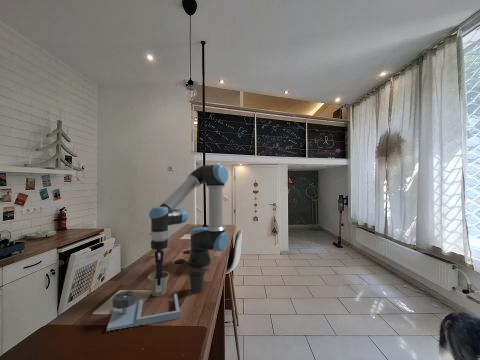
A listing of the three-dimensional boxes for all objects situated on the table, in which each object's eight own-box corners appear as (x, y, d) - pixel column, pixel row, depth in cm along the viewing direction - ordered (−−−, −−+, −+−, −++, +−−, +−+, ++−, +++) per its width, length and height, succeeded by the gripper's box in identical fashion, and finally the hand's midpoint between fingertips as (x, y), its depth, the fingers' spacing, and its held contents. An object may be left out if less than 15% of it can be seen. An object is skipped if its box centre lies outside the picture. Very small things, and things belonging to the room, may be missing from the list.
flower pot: (156, 300, 99) (156, 281, 99) (143, 295, 104) (143, 276, 104) (173, 292, 107) (173, 274, 107) (160, 287, 112) (160, 270, 112)
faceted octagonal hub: (136, 297, 91) (136, 289, 91) (134, 306, 84) (134, 298, 84) (115, 300, 89) (115, 292, 89) (111, 310, 82) (111, 301, 82)
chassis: (176, 298, 101) (177, 281, 101) (179, 318, 86) (180, 297, 86) (115, 309, 92) (115, 289, 93) (106, 332, 77) (106, 309, 78)
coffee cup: (208, 288, 111) (208, 268, 112) (200, 295, 104) (200, 274, 104) (193, 286, 114) (194, 266, 114) (184, 293, 106) (185, 272, 107)
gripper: (151, 235, 115) (150, 279, 115) (150, 245, 95) (149, 299, 94) (166, 234, 118) (166, 277, 117) (168, 244, 97) (167, 296, 97)
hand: (158, 287), depth 106 cm, fingers closed on flower pot, 9 cm apart
